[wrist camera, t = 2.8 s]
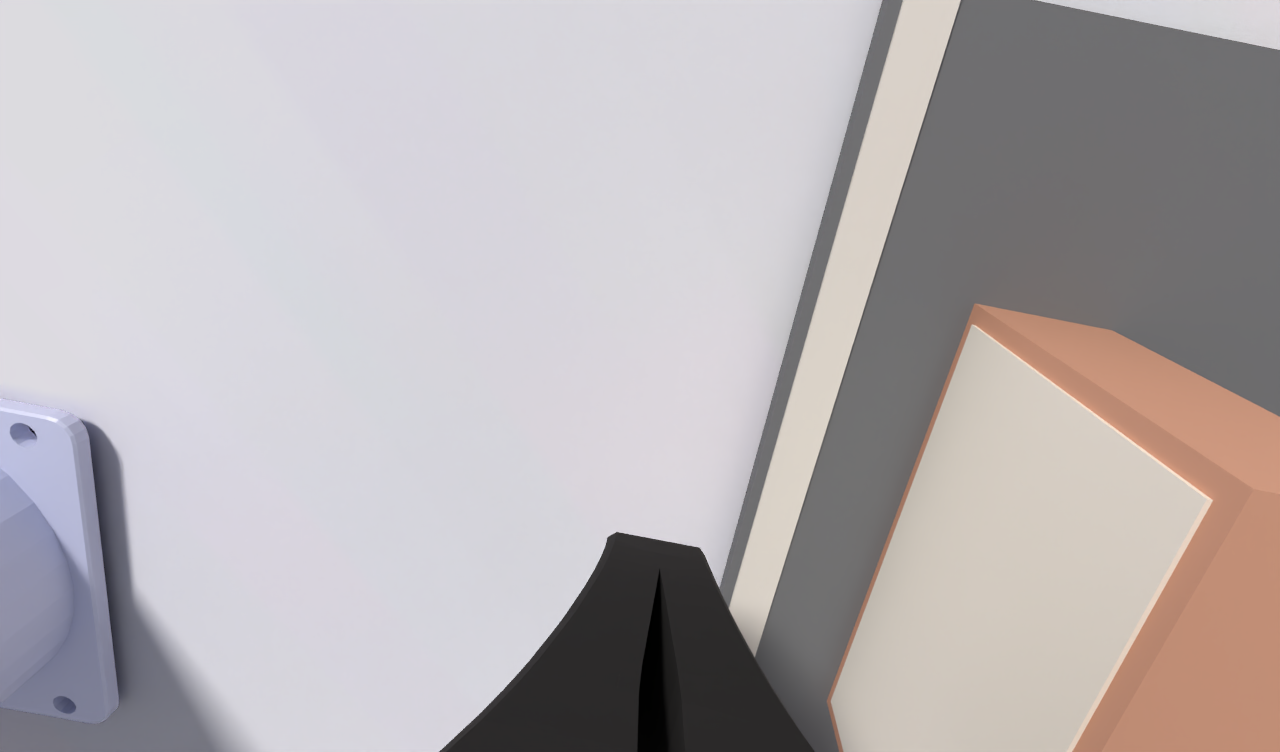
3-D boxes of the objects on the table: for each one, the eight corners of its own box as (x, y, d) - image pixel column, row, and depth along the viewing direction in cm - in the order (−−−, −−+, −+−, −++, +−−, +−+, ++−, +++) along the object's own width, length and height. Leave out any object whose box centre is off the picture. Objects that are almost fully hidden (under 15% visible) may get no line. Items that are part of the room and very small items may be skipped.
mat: (659, 805, 17) (658, 823, 17) (889, -24, 11) (898, -30, 10) (1450, 949, 17) (1471, 971, 17) (2144, 232, 11) (2205, 237, 10)
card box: (823, 700, 15) (913, 1067, 9) (970, 302, 12) (1248, 487, 6) (935, 721, 15) (1091, 1099, 9) (1112, 330, 12) (1520, 539, 6)
